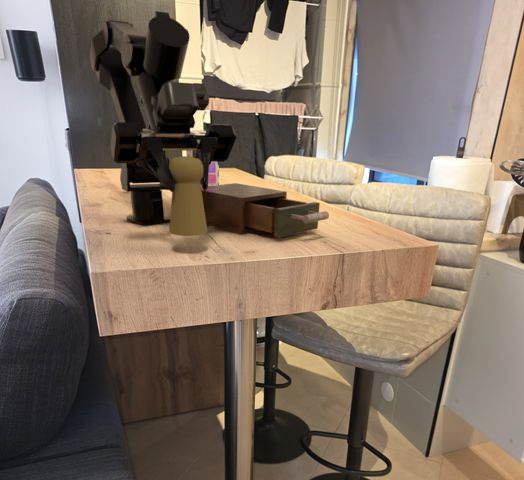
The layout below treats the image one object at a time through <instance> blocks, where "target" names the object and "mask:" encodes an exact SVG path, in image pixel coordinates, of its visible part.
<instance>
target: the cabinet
mask: <svg viewBox="0 0 524 480" xmlns="http://www.w3.org/2000/svg"><path fill="white" fill-rule="evenodd" d="M201 191H202V198H203V204H204V211H205V218H206V225H207V227H212V228H215V229H220V230H223V231H228V232H230V233H235V234H239V235H246V234H251V233H255V232H259V231H261V230H257V229H253V228H249V227H245V202H249V201H255V200H262V199H268V198H275V197H279V198H284V199H287V195H288V192H287V191H285V190H279V189H272V188H267V187H261V186H255V185H249V184H243V183H237V182H234V183H224V184H219V185H214V186H208V188H207V190H203V188H202V187H201Z"/></svg>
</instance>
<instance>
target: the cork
mask: <svg viewBox="0 0 524 480" xmlns="http://www.w3.org/2000/svg"><path fill="white" fill-rule="evenodd" d="M169 161H170V163H169V169H170V172H171V175H172V177H173V181H174V185H175V190H174V192H171V202H170V203H171V205H170V216H169V217H170V221H169V231H168V232H169V233H170V234H172V235H175V236H180V237H197V236H202V235H203V236H204V235H206V234H207V233H208V226H207V225H206V218H205V211H204V204H203V198H202V191H201V184H200V180H201V178H202V177H203V164H202V162H201V161H200V160H199V159H197V158H194V157H188V156H187V155H186V156H183V155H182V156H176V157H173V158H172V159H170V160H169Z"/></svg>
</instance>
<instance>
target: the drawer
mask: <svg viewBox="0 0 524 480" xmlns="http://www.w3.org/2000/svg"><path fill="white" fill-rule="evenodd" d="M329 216H330V214H329V212H328V211H327V210H325V211H320V202H317V201H313V202H312V201H311V202H307V201H302V200H301V201H300V200H297V199H296V200H295V199H289V198H286V199H284V198H279V197H275V198H268V199H262V200H255V201H249V202H245V227H249V228H253V229H257V230H260V231H263V232H266V233H269V234H272V233H273V236H274V238H279V239H280V238H284V237H288V236H292V235H296V234H300V233H304V232H308V231H309V232H310V231H313V230H317V229H319V222H320V221H324V220H328V219H329Z"/></svg>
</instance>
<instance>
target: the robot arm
mask: <svg viewBox="0 0 524 480" xmlns="http://www.w3.org/2000/svg"><path fill="white" fill-rule="evenodd" d="M189 42H190V33H189V31H188V29H187V28H186V27H185V26H184V25H183V24H182V23H180V22H179V21H177V20H175V19H174V18H171V15H170V13H169V12H165V11H158V10H155V11H154V17H152V18H150V20H149V21H148V25H147V33H146V35H144V34H143V32H141V31H139V30H138V29H137V28H135V27H134V24H133V23H132V22H131V23H130V22H129V21H127V20H117V19H110V18H109V19H107V20H103V24H102V29H101V30H100V31H99V32H97V34H95V35H94V36H93V38H92V39H91V43H90V52H89V57H90V59H89V60H90V66H91V70H92V71H93V72H95V73H94V74H95V75H96V78H97V80H98V83H99V84H100V85H101V86H102V87H104V88H105V89H106V90H108V91H109V92H110V95H111V99H112V101H113V105H114V108H115V111H116V114H117V118H118V120H119V122H118V121H116V122H114V124H113V125H112V127H111V134H110V135H111V136H110V153H111V156H112V160H113V162H114V163H116V164H121V167H120V175H119V180H120V185H121V186H120V187H121V189H122V190H123V191H125V192H127V193H130V199H131V200H130V201H131V202H130V203H131V211H132V216H129V217H126V218H125V219H126V221H128V222H130V223H131V222H132V223H135V224H138V225H141V226H149V225H154V224H160V223H167V222H170V218H169V217H166V216H165V210H164V199H163V191H169V192H171V193H172V192H174V190H175V185H174V181H173V177H172V175H171V172H170V169H169V163H170V161H171V160H170V159H169V157H168V156H167V155H166V152H167V151H168V152H169V151H171V152H172V151H179V152H180V151H183V152H184V151H193V152H194V154H195V158H197V159H199V160H200V161H201V162H202V164H203V177H202V178H201V180H200V184H201V186H202V188H203V190H207V188H208V175H209V165H210V164H211V162H219V163H222V162H226V161H227V160H228V159H229V157H230V154H231V153H232V149H233V147H234V145H235V143H236V140H237V134H236V131H235V129H234V127H233V126H232V125H231V124H214V123H213V124H212V123H211V124H210V123H209V124H207V126H206V130H205V131H206V133H205V135H195V133H191V131H190V130H191V129H194V128H195V125H196V120H195V117H194V115H195V114H196V113H197V111H201V112H203V111H205V110H206V109H207V107H208V106H209V105H210V96H209V91H208V89H207V87H206V85H205V83H199V82H193V83H192V82H180V81H179V82H178V81H177V82H176V81H174V80H177V79H180V78H181V76H182V72H183V68H184V64H185V59H186V55H187V51H188V46H189ZM135 77H138V78H137V83H136V84H137V88H138V91H139V100H140V101H139V100H138V97H137V96H138V95H137V93H136V91H135V88H134V81H135V80H134V79H135ZM139 102H140V103H139ZM140 104H142V105H143V108H144V111H145V114H146V117H147V121H145V118H144V114H143V112H142V108H141V105H140Z"/></svg>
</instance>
